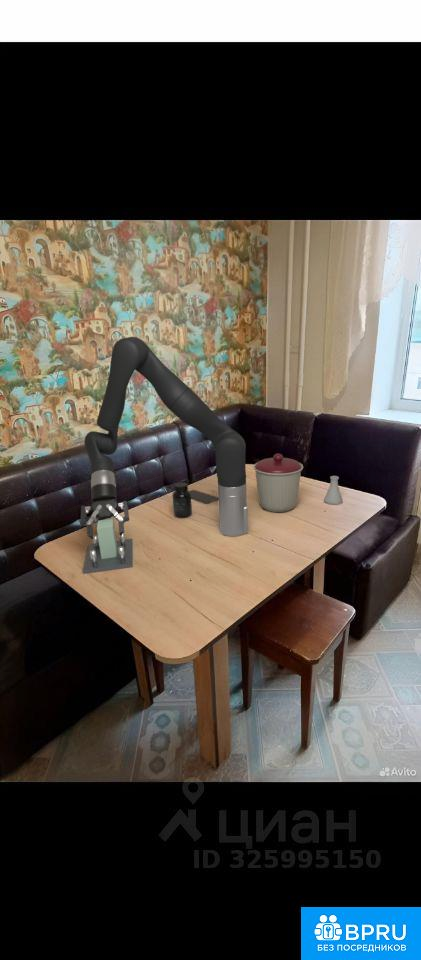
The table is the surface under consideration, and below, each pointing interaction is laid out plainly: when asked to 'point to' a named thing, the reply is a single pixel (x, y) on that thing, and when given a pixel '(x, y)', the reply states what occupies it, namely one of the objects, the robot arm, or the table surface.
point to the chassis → (121, 561)
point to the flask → (333, 492)
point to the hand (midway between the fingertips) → (106, 536)
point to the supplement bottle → (182, 501)
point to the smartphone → (202, 497)
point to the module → (107, 538)
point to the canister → (278, 482)
